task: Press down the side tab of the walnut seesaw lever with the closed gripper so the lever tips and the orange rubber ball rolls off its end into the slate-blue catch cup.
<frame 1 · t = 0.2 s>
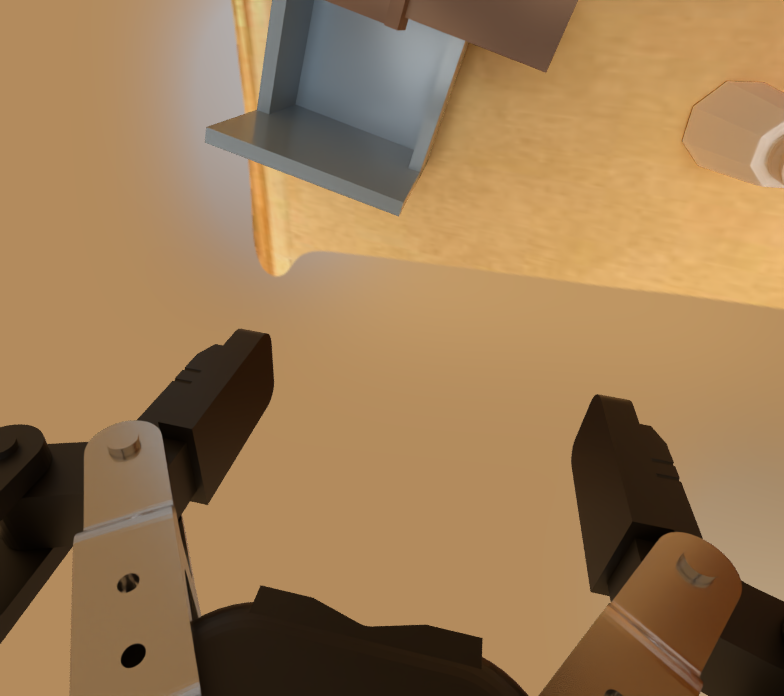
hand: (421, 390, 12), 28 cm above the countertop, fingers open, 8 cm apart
salt shaker: (727, 125, 32), on the countertop
catch cup: (377, 55, 33), on the countertop
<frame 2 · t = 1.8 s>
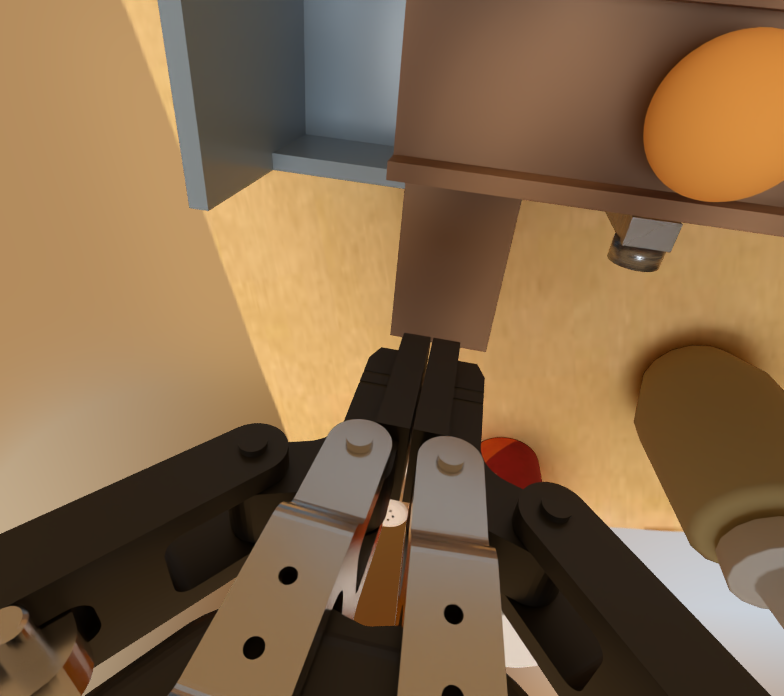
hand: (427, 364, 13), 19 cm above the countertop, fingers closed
salt shaker: (413, 396, 38), on the countertop
lever: (651, 226, 15), point 13 cm above the countertop, hinge at 0.0°, touching ball
squeeze bottle: (687, 378, 33), on the countertop
catch cup: (395, 47, 25), on the countertop
paper cup: (502, 461, 40), on the countertop
ball: (731, 120, 13), point 14 cm above the countertop, touching lever
pivot stand: (623, 72, 24), on the countertop
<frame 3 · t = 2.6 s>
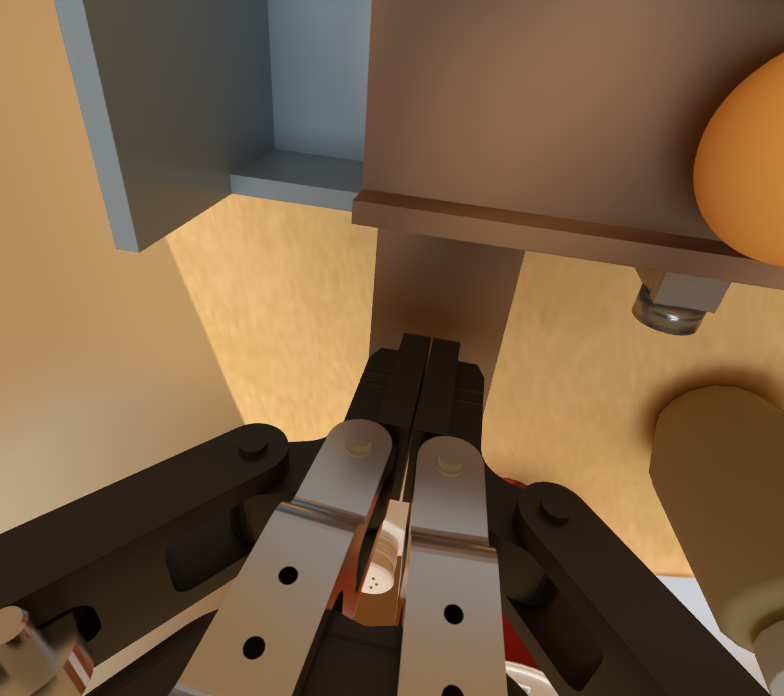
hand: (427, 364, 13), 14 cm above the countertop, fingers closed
salt shaker: (403, 433, 35), on the countertop
lever: (695, 286, 12), point 13 cm above the countertop, hinge at 0.0°, touching ball
squeeze bottle: (707, 419, 29), on the countertop
catch cup: (375, 49, 22), on the countertop
paper cup: (501, 502, 37), on the countertop
pivot stand: (643, 79, 21), on the countertop
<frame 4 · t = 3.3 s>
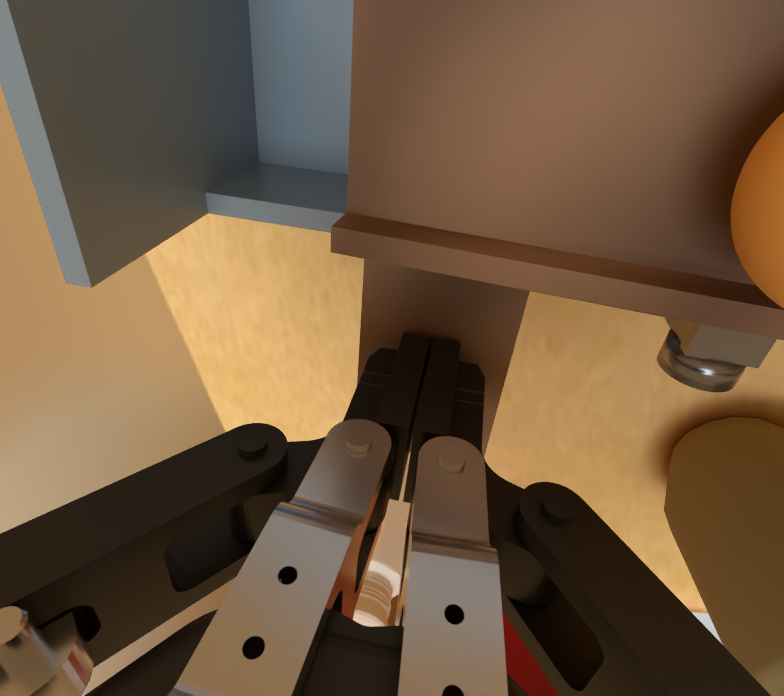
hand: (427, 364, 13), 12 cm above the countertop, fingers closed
salt shaker: (399, 459, 33), on the countertop
lever: (731, 341, 10), point 13 cm above the countertop, hinge at 4.0°, touching ball, gripper
squeeze bottle: (727, 451, 27), on the countertop
catch cup: (367, 54, 20), on the countertop
paper cup: (504, 532, 35), on the countertop
pivot stand: (662, 88, 19), on the countertop
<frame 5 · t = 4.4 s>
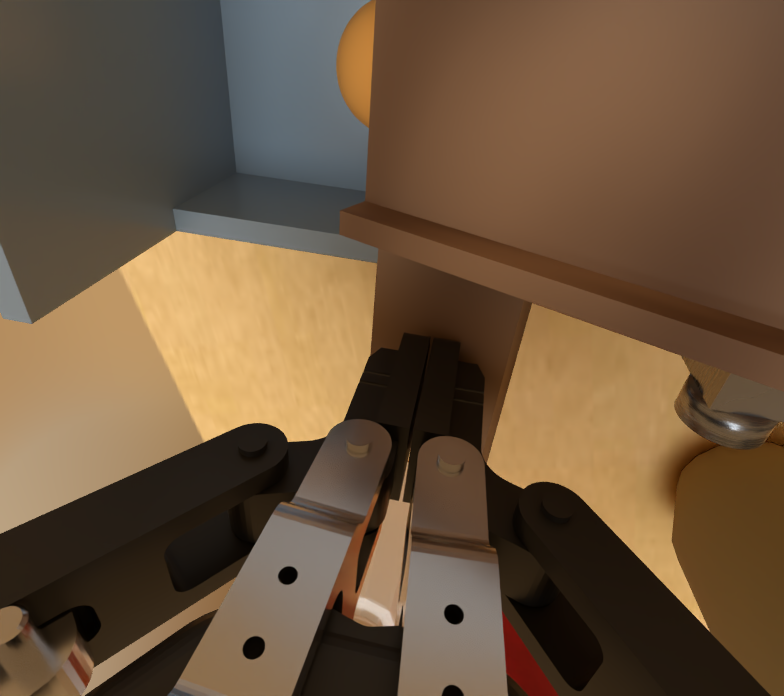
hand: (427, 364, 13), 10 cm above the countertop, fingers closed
salt shaker: (392, 481, 31), on the countertop
lever: (723, 384, 9), point 13 cm above the countertop, hinge at 22.8°, touching gripper
squeeze bottle: (737, 476, 26), on the countertop
catch cup: (350, 56, 18), on the countertop
paper cup: (501, 555, 33), on the countertop
ball: (398, 69, 16), point 3 cm above the countertop, tilted 157°, touching catch cup
pivot stand: (673, 93, 17), on the countertop
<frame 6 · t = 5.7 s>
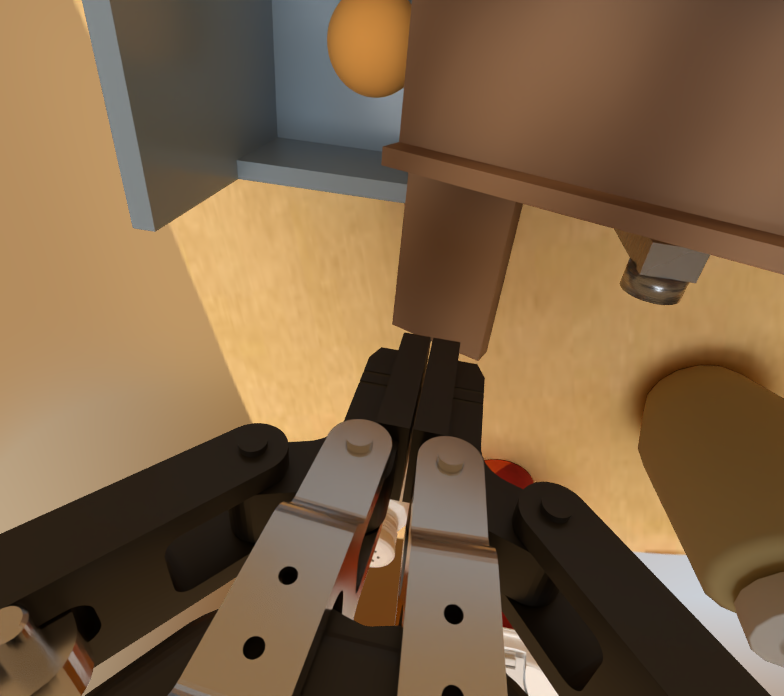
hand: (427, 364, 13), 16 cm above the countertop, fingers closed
salt shaker: (401, 416, 36), on the countertop
lever: (642, 246, 13), point 13 cm above the countertop, hinge at 23.1°
squeeze bottle: (694, 399, 31), on the countertop
catch cup: (375, 39, 23), on the countertop
paper cup: (496, 483, 38), on the countertop
ball: (375, 43, 20), point 3 cm above the countertop, tilted 107°, touching catch cup
pivot stand: (630, 69, 22), on the countertop
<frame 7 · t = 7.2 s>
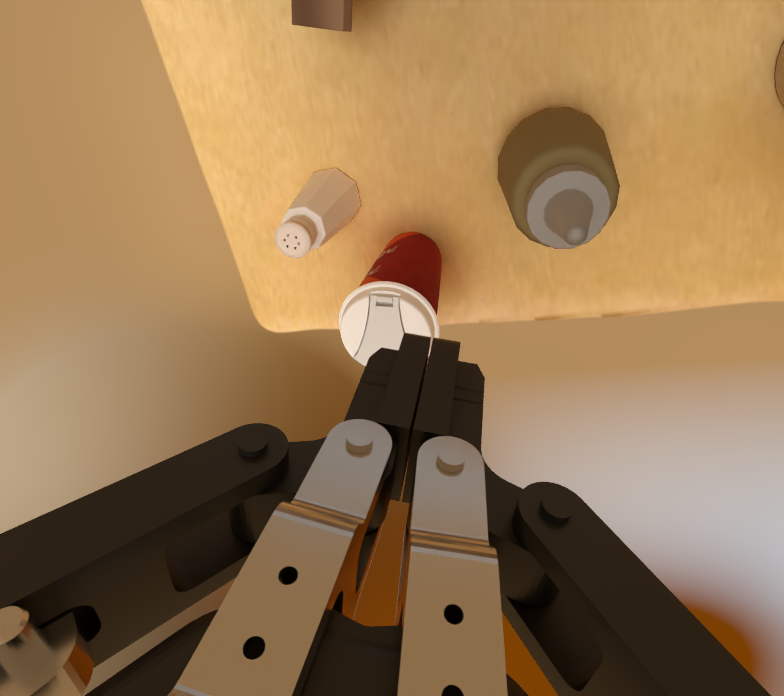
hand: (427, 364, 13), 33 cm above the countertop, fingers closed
salt shaker: (333, 196, 45), on the countertop
squeeze bottle: (547, 154, 40), on the countertop
paper cup: (413, 259, 47), on the countertop
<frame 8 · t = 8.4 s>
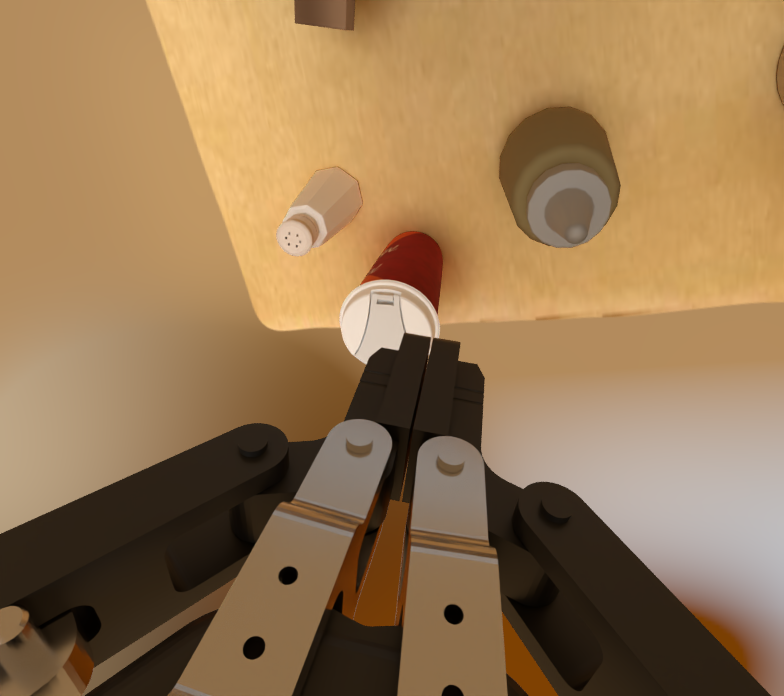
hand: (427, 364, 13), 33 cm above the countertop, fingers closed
salt shaker: (335, 195, 45), on the countertop
squeeze bottle: (549, 153, 40), on the countertop
paper cup: (414, 258, 47), on the countertop
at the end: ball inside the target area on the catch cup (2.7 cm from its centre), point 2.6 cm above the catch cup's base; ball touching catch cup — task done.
